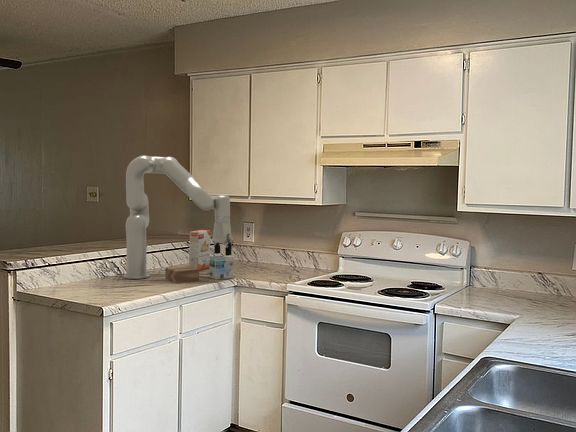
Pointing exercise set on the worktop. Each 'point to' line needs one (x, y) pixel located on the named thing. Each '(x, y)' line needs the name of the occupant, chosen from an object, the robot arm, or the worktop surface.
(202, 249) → the cracker box
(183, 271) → the walnut block
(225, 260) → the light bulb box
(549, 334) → the worktop surface
